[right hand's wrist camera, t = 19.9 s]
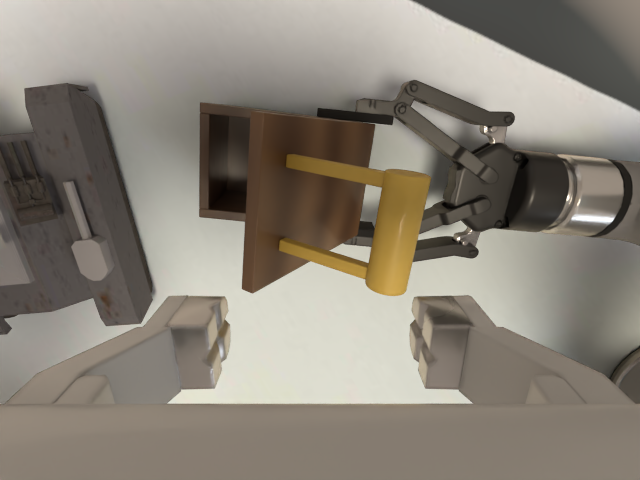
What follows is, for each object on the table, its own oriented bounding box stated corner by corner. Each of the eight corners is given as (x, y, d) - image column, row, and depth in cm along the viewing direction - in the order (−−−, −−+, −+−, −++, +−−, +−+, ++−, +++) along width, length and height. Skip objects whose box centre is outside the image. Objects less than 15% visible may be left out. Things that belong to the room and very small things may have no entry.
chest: (220, 195, 40) (199, 217, 32) (223, 104, 37) (199, 102, 28) (342, 207, 41) (353, 232, 33) (354, 120, 38) (370, 123, 30)
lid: (241, 289, 20) (381, 347, 17) (250, 110, 17) (426, 134, 13) (349, 232, 33) (443, 259, 29) (366, 123, 29) (474, 137, 26)
